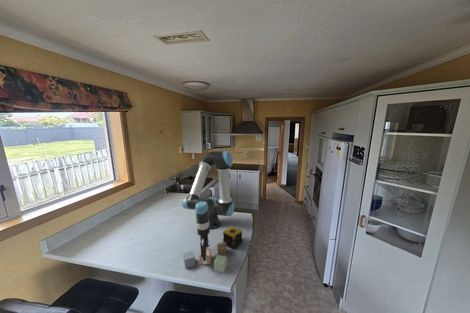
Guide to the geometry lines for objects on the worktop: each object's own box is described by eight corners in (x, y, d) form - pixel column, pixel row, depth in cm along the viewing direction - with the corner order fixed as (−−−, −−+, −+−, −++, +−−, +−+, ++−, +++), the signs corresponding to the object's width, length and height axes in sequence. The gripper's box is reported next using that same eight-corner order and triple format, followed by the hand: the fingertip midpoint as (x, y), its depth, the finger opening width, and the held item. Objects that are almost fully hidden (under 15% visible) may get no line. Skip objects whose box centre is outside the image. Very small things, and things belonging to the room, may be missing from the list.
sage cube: (217, 263, 112) (217, 254, 111) (227, 264, 110) (226, 256, 109) (214, 270, 106) (213, 261, 105) (223, 272, 104) (223, 263, 103)
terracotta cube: (202, 257, 117) (201, 249, 116) (211, 257, 117) (210, 248, 116) (200, 264, 111) (199, 255, 110) (209, 264, 111) (209, 255, 110)
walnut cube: (217, 251, 122) (216, 243, 121) (226, 250, 123) (225, 242, 122) (218, 257, 116) (217, 249, 115) (227, 256, 117) (226, 248, 116)
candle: (223, 244, 129) (222, 231, 127) (232, 237, 137) (231, 225, 135) (233, 250, 123) (232, 237, 121) (242, 242, 130) (242, 230, 128)
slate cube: (184, 262, 114) (183, 253, 112) (193, 259, 116) (192, 250, 115) (185, 268, 108) (184, 260, 107) (195, 265, 111) (194, 256, 110)
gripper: (200, 219, 119) (202, 249, 123) (193, 236, 100) (197, 272, 105) (211, 218, 119) (213, 249, 123) (207, 236, 100) (209, 271, 105)
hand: (205, 259), depth 114 cm, fingers closed on terracotta cube, 6 cm apart
